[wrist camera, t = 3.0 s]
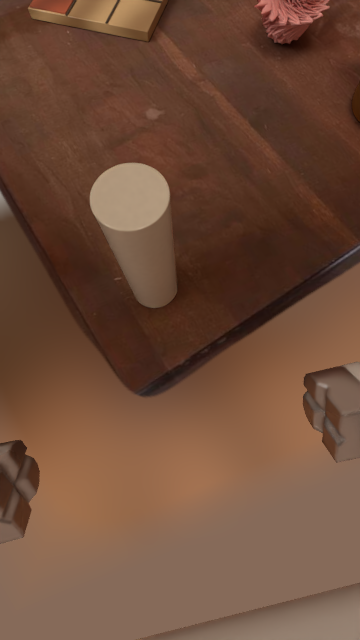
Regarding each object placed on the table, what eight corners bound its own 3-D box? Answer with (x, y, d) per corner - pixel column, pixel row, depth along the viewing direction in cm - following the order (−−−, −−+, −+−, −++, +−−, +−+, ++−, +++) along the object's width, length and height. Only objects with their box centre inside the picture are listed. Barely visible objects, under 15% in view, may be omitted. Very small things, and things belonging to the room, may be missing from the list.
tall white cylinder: (126, 300, 26) (76, 218, 14) (141, 260, 27) (106, 154, 15) (169, 313, 26) (154, 240, 14) (183, 272, 26) (180, 172, 15)
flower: (327, 54, 33) (354, -13, 28) (259, 71, 33) (273, 6, 27) (300, 8, 35) (320, -62, 30) (236, 23, 35) (245, -46, 29)
